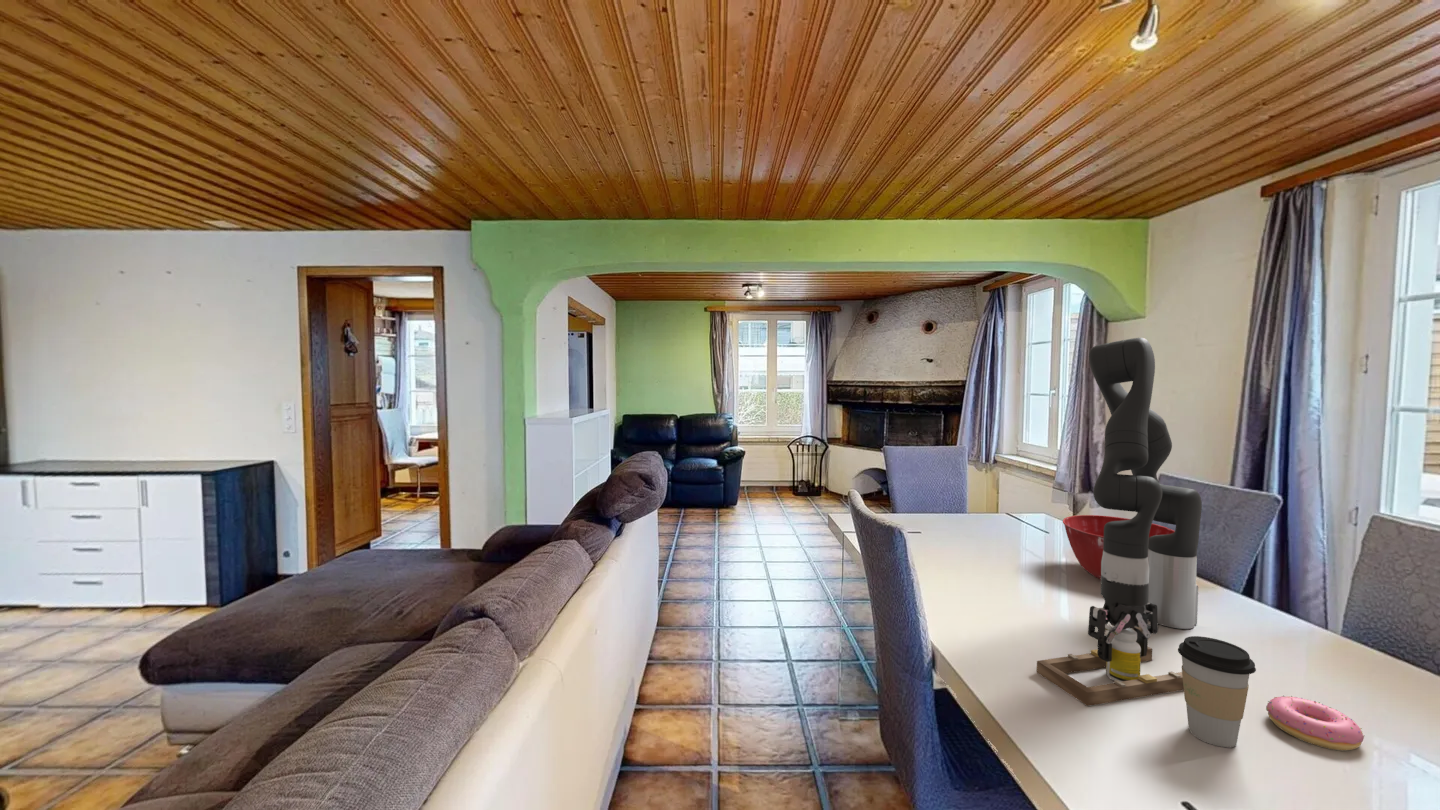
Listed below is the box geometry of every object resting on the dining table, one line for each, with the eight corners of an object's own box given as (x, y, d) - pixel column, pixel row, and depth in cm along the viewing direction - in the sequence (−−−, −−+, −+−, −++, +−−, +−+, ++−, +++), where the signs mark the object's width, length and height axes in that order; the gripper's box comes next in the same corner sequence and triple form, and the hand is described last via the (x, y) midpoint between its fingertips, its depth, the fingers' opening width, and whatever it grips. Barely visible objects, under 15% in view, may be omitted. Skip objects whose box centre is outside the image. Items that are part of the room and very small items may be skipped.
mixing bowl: (1207, 596, 147) (1209, 540, 147) (1102, 595, 148) (1104, 540, 147) (1130, 561, 176) (1131, 515, 175) (1042, 561, 176) (1043, 514, 175)
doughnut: (1382, 750, 86) (1383, 725, 85) (1331, 760, 83) (1332, 734, 83) (1295, 709, 96) (1296, 687, 96) (1248, 717, 94) (1249, 694, 94)
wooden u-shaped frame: (1144, 656, 115) (1145, 642, 114) (1204, 686, 103) (1205, 670, 103) (1036, 672, 108) (1036, 657, 108) (1087, 706, 97) (1088, 689, 97)
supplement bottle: (1146, 687, 103) (1147, 637, 103) (1114, 684, 104) (1115, 635, 104) (1130, 673, 108) (1132, 625, 108) (1100, 670, 109) (1101, 622, 109)
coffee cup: (1160, 719, 93) (1163, 635, 93) (1210, 716, 94) (1213, 632, 93) (1215, 757, 84) (1218, 663, 83) (1270, 754, 85) (1273, 660, 84)
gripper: (1134, 566, 110) (1132, 644, 111) (1077, 572, 107) (1075, 652, 108) (1173, 579, 103) (1170, 662, 104) (1113, 586, 100) (1110, 671, 101)
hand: (1122, 657), depth 106 cm, fingers open, 8 cm apart
